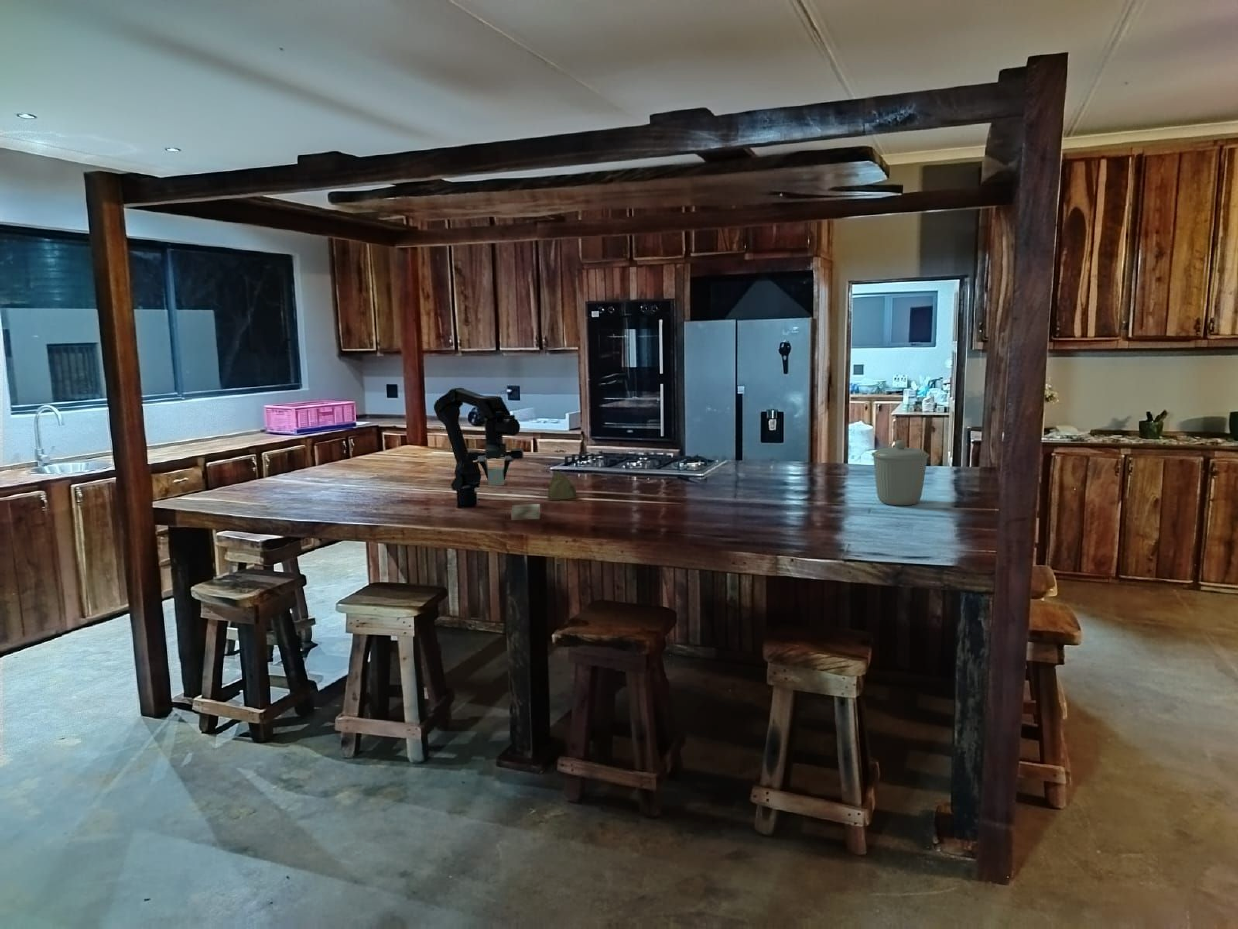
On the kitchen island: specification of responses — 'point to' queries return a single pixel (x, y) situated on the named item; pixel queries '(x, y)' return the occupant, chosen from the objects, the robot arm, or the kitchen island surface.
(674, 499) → the kitchen island surface
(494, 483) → the block
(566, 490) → the rock
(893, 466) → the canister
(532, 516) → the plinth
